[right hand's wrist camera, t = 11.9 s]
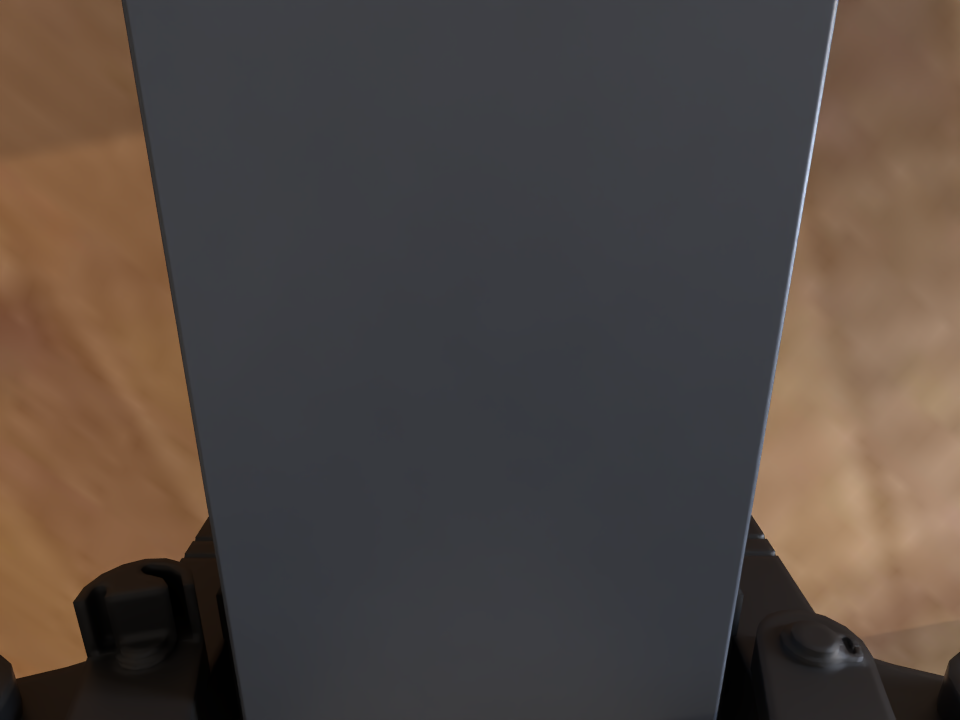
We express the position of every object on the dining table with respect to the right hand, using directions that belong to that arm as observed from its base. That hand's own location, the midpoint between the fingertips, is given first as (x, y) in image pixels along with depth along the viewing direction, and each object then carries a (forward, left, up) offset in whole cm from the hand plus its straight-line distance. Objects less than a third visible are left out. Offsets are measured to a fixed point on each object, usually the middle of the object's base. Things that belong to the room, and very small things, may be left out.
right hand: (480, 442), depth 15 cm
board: (-2, -18, -1) cm, 18 cm away
